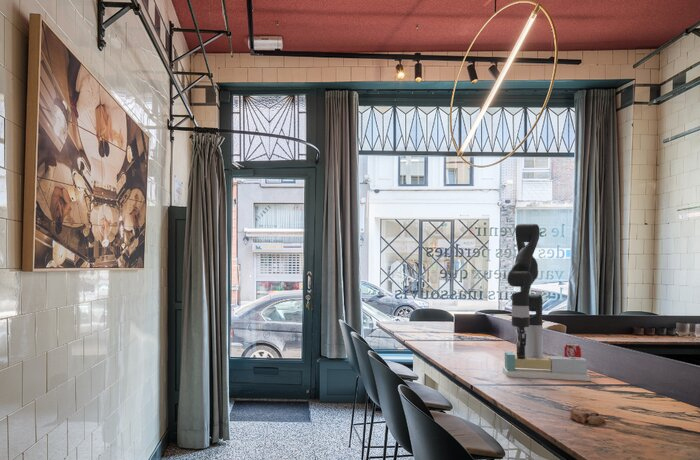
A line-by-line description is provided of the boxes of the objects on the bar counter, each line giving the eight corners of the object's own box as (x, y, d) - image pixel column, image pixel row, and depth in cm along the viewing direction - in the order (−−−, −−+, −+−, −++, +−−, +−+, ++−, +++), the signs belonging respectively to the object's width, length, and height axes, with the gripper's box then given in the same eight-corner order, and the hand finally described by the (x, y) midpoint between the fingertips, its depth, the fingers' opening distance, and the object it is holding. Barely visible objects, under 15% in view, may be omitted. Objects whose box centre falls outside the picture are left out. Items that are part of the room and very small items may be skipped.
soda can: (584, 372, 215) (583, 345, 215) (568, 372, 215) (568, 345, 216) (577, 368, 222) (576, 343, 223) (562, 368, 222) (561, 342, 223)
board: (502, 370, 216) (502, 365, 216) (581, 374, 210) (581, 369, 210) (506, 376, 204) (506, 371, 205) (590, 380, 198) (590, 376, 198)
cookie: (592, 414, 154) (592, 405, 154) (611, 426, 143) (610, 415, 144) (562, 414, 154) (562, 405, 154) (579, 425, 143) (579, 415, 143)
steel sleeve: (548, 369, 210) (548, 356, 210) (582, 371, 207) (582, 357, 208) (552, 372, 204) (551, 358, 204) (587, 374, 201) (586, 360, 202)
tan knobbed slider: (508, 365, 212) (508, 343, 213) (556, 368, 208) (556, 345, 209) (510, 367, 208) (509, 344, 209) (559, 370, 205) (558, 346, 205)
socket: (504, 366, 214) (504, 351, 215) (512, 367, 214) (512, 351, 214) (507, 370, 206) (507, 354, 207) (515, 371, 206) (515, 355, 206)
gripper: (509, 313, 219) (509, 351, 217) (514, 317, 205) (514, 357, 203) (526, 314, 217) (526, 352, 216) (532, 317, 203) (533, 358, 202)
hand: (520, 354), depth 210 cm, fingers closed on tan knobbed slider, 3 cm apart
